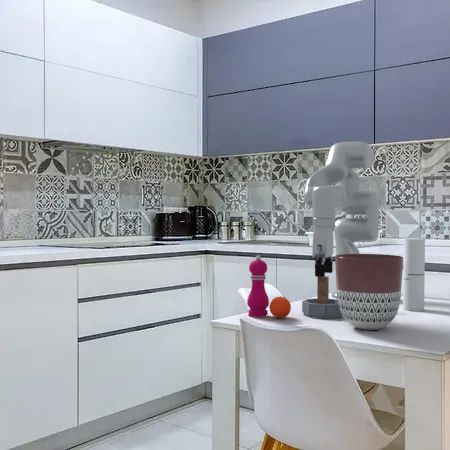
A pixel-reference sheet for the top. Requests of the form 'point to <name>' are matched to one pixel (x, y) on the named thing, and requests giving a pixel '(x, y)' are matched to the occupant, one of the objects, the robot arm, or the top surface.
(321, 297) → the brown wooden block
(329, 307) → the grey faceted bowl
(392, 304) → the planter
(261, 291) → the pepper mill
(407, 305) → the cylindrical container
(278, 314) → the clementine
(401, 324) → the top surface
